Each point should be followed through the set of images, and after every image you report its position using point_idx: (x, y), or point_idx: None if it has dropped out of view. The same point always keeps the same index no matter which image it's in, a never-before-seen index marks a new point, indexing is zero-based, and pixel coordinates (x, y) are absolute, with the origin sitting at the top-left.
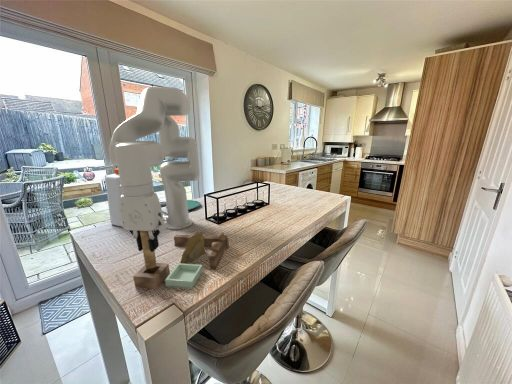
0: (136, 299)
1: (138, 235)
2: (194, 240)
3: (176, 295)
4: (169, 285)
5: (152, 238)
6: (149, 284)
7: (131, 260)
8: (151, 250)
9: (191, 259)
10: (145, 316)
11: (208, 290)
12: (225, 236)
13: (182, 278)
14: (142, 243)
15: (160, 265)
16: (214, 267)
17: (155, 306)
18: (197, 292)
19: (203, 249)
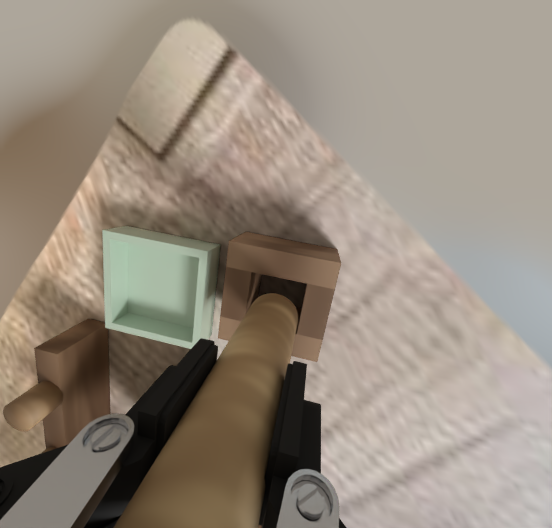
0: (303, 184)
1: (280, 515)
2: None
3: (167, 197)
4: (204, 243)
5: (106, 424)
6: (271, 241)
7: (434, 424)
8: (200, 343)
9: None
10: (230, 94)
11: (75, 215)
12: None
13: (173, 278)
14: (253, 405)
15: None
16: (85, 323)
17: (216, 144)
18: (105, 208)
19: None
